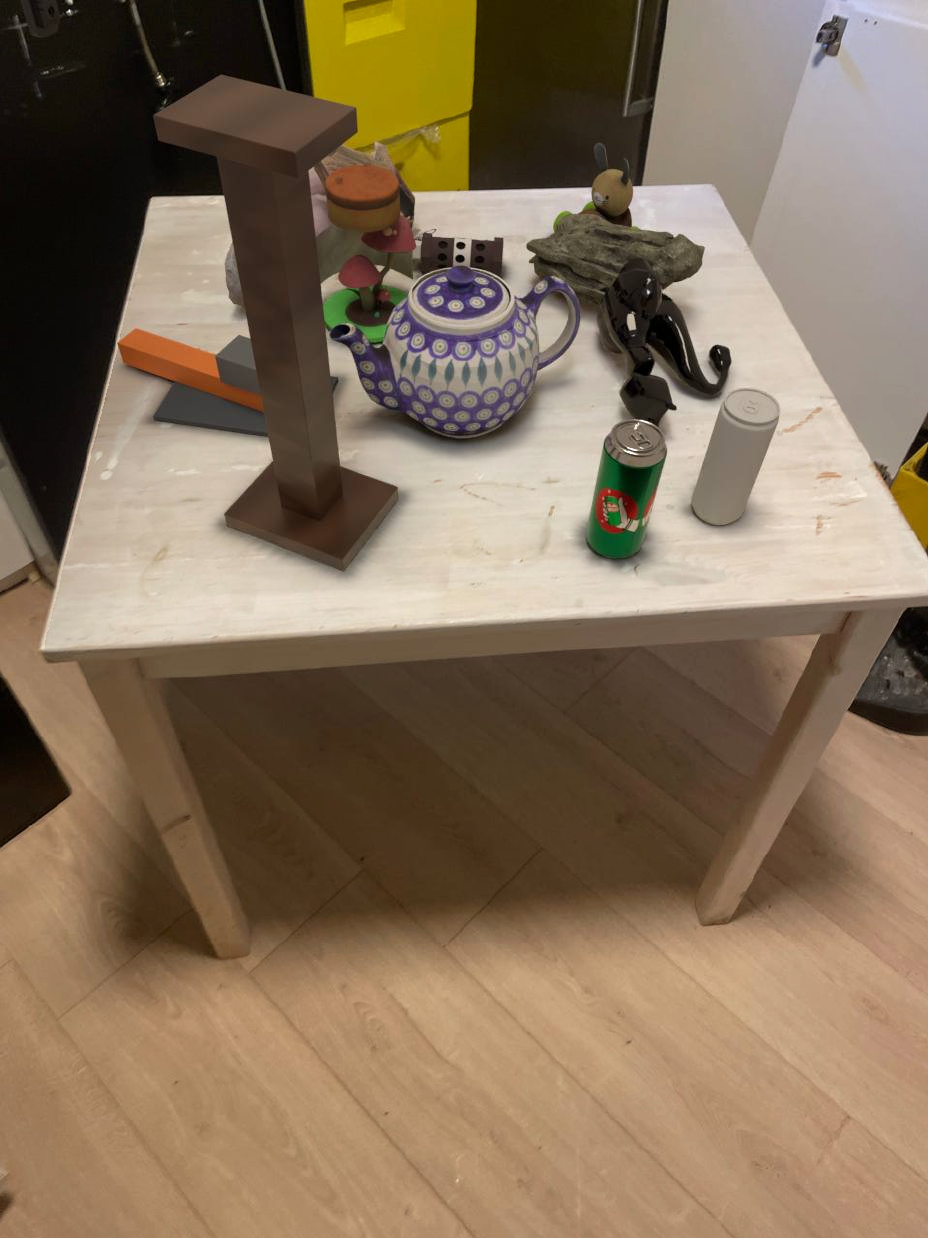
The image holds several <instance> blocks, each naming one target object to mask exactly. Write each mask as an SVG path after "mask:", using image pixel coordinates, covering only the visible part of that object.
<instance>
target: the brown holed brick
mask: <svg viewBox="0 0 928 1238" xmlns="http://www.w3.org/2000/svg"><path fill="white" fill-rule="evenodd" d="M436 231H437V228H431V229H428V230H425V231H424V232H422V233H420V234H418V235H417V234H416V236H415V242H416V248H415V249H414V250H413V259H415V260H420V272H422V273H423V272H424V273H430V272H431V270H432V269H435V270H440V269H444V268H452V267H455V266H460V265H462V266H467V267H470V268H477V269H481V270H485V271H488V272H490V273H493V274H495V275H497V276H498V277H502V271H503V270H502V267H503V259H504V258H503V256H504V244H505V243H504V237H499V236H494V238H493V240H491V239H490V240H489V239H476V238H475V239H473V238H471V237H459V236H458V237H456V236H455V237H442V236H433V234H434V233H436Z"/></svg>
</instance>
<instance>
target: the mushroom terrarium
mask: <svg viewBox="0 0 928 1238" xmlns="http://www.w3.org/2000/svg"><path fill="white" fill-rule="evenodd" d="M325 188H326V199H327V209H328V218H329V220H330V221H331V222H332V223H333V224H334V225H332V226H330V227H328V228H327V229H325V230H324V231H322V232H321V233H320V234H319V235H318V236H317V237H316V245H317V254H318V263H319V273H320V282H321V284H322V283H324V282H326V280H328V279H329V278H332V276H334V275H336V274H338V277H337V278H338V281H339V283H340V284H341V285H342V286H344V287H345V288H343V289H341V290H338V291H337V292H335V293H333V294H332V295H330V296H329V297H328V298H327V299H326V300H325V302H324V303H323V310H324V319H325V328H327V329H328V330H329V332H330V331H331V330H332V329H333V328H334V327H335V326H337V325H339V324H343V323H350V324H352V325H355V326H356V327H358V328H359V329H360V330H361V331H362V332H363V333H364V334H365V335H366V337H367V338H368V340H369V341H370V342H371V343H381V342H382V343H383V340H384V335H385V331H386V326H387V323H388V320H389V318H390V315H391V313H392V311H393V310H394V308H395V307H396V306H397V305H398V304H399V303H400V302H401V301H402V300H404V299H405V298H406V297H407V296H408V294H409V293H406V292H405V291H403V290H401V289H398V288H396V287H393V286H389V285H385V284H383V282H384V278H385V277H386V275H387V274H388V273H389V272H390V270H392V271H394V272H397V273H399V274H401V275H403V276H405V277H408V279H411V280H414V258H413V250H414V249H415V248H416V242H415V238H416V237H417V236H416V235H417V234H418V233H419V232H420V231H421V229H419V228H413V229H412V228H411V227H410V225H409V223H408V221H407V219H406V218H405V217H403V216H402V215H400V191H399V181H398V178H397V177H396V175H395V174H393V173H392V172H391V171H389V170H387V169H385V168H382V167H378V166H373V165H351V166H347V167H343V168H340V169H338V170H336V171H334V172H332V173H331V174H330V175H329V176H328V177H327V179H326V182H325ZM415 236H416V237H415ZM376 266H381V267H382V269H381V271H379V269H378V268H377V267H376Z"/></svg>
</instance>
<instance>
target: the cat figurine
mask: <svg viewBox="0 0 928 1238" xmlns="http://www.w3.org/2000/svg"><path fill="white" fill-rule="evenodd" d="M595 312H596V322H597V328H598V329H597V330H598V334H599V339H600V340H601V341H600V342H601V344H602V345H603V347H605V349H606V350H608V351H609V352H611V353H613V354H615V355H623V357H624V359H625V381H624V382H623V383H622V385H621V387H620V389H619V390H618V392H619V397H620V399H621V402H622V404H623V405H624V407H625V410H626V411H627V412H628V413H629V415H630V416H631V417H632V418H633V419H639V420H644V421H647V422H650V423H652V424H654V425H656V426H657V427H658V428H659V425H660V423H661V420H662V418H663V417H664V416H665V415H666V413H667V412H668V411H672V412H673V411H677V409H678V406H677V405H675V404H674V403H673V400H672V395H671V391H670V388H669V387H670V386H669V385H668V382H667V380H666V379H665V378H664V377H660V376H658V375H655V374H652V373H653V369H654V367H655V364H656V358H655V356H654V354H653V353H652V351H651V350H650V349H649V348H648V347H647V345H648V346H650V348H652V350H654V351H655V352H656V353H657V354H658V355H659V356H660V357H661V359H662V360H663V361H664V362H665V364H666V365H667V366H668V367H669V368H670V370H672V371H673V373H674V374H675V375H676V376H677V377H678V379H680V381H681V382H682V383H683V384H685V385H686V386H688V387H689V388H691V389H693V390H695V391H697V392H699V393H701V394H705V395H708V396H718V394H720V392H721V391H722V390H723V388H724V387H725V385H726V382H727V380H728V377H729V370H730V367H731V365H732V357H731V350H730V348H729V347H727V346H726V345H722V344H714V345H712V347H711V348H710V349H709V351H708V359H709V360H710V361H711V364H712V365H713V369H714V370H715V371H716V372H717V373H718V378H717V382H716V383H712V382H710V381H709V380H708V378H707V377H706V376H705V375H704V373H703V370H702V369H701V366H700V364H699V359H698V358H697V354H696V351H695V347H694V343H693V341H692V338H691V335H690V331H689V329H688V325H687V323H686V320H685V318H684V315H683V312H682V311H681V309H680V307H679V306H678V304H676V302H675V301H674V300H673V299H672V298H671V297H669V296H668V295H667V294H666V293H664V292H663V290H662V286H661V282H660V279H659V277H658V275H657V274H656V273H655V272H654V270H653V268H652V267H651V265H650V264H649V262H648V261H647V259H645V258H637V259H634V260H631V261H630V262H628V263H626V264H624V265H623V267H622V269H621V270H620V273H619V275H618V276H617V278H616V279H615V280H614V282H613V283H612V285H611V286H610V287H609V288H608V289H607V291H606V292H605V294H604V296H603V300H602V302H601V303H600V305H597V307H596V311H595Z"/></svg>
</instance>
